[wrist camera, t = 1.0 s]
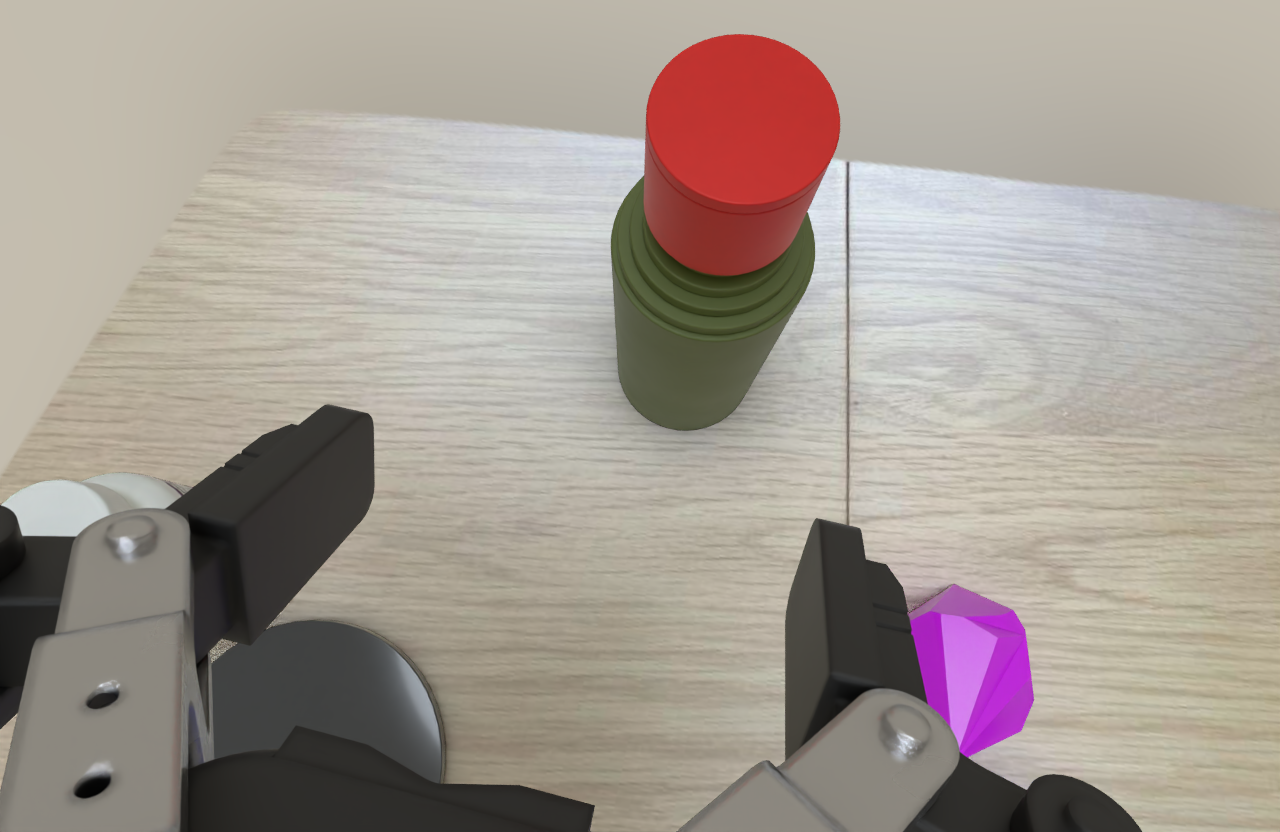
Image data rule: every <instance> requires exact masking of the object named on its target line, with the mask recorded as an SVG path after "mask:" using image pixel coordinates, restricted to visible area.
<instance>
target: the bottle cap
mask: <svg viewBox="0 0 1280 832" xmlns="http://www.w3.org/2000/svg"><path fill="white" fill-rule="evenodd" d="M646 113H647V114H646V139H645V171H644V212H645V216H646V220H647V223H648V225H649V228H650V230H651V232H652V234H653V236H654V238H655V239H656V240H657V242H658V243H659V244H660V246H661V247H662V248H663V249H664V250H665V251H666V252H667V253H668V254H669V255H670V256H672V257H673V258H674V259H675V260H677V261H678V262H680V263H682V264H683V265H685V266H687V267H689V268H692V269H694V270H697V271H700V272H703V273H707V274H713V275H724V276H728V275H739V274H744V273H749V272H752V271H755V270H758V269H760V268H762V267H764V266H766V265H768V264H770V263H771V262H773V261H774V260H776V259H777V258H778V257H779V256H780V255H781V254H783V253H784V252H785V250H786V249H787V248H788V247H789V246H790V244H791V243H792V241H793V240H794V238H795V237H796V234H797V232H798V230H799V228H800V226H801V224H802V222H803V219H804V217H805V215H806V213H807V211H808V209H809V206H810V204H811V202H812V200H813V198H814V196H815V193H816V191H817V189H818V187H819V185H820V183H821V181H822V178H823V176H824V174H825V172H826V170H827V168H828V165H829V163H830V161H831V159H832V157H833V155H834V152H835V150H836V147H837V143H838V140H839V133H840V114H839V108H838V104H837V101H836V97H835V94H834V92H833V90H832V88H831V86H830V84H829V82H828V81H827V80H826V78H825V76H824V75H823V73H822V72H821V71H820V70H819V69H818V68H817V66H816V65H814V64H813V63H812V62H811V61H810V60H809V59H808V58H807V57H805V56H804V55H803V54H801V53H800V52H798V51H797V50H795V49H793V48H791V47H790V46H788V45H786V44H783V43H781V42H779V41H776V40H773V39H769V38H766V37H761V36H755V35H744V34H735V35H724V36H718V37H714V38H710V39H707V40H704V41H702V42H699V43H697V44H695V45H692V46H691V47H689V48H687V49H685V50H684V51H682V52H681V53H680V54H678V55H677V56H676V57H675V58H673V59H672V60H671V61H670V62H669V63H668V64H667V65H666V66H665V68H664V69H663V70H662V72H661V73H660V74H659V76H658V78H657V79H656V81H655V83H654V85H653V87H652V90H651V92H650V95H649V99H648V104H647V112H646Z"/></svg>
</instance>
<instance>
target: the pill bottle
mask: <svg viewBox="0 0 1280 832" xmlns="http://www.w3.org/2000/svg"><path fill="white" fill-rule="evenodd" d="M192 488H193V487H189V486H185V485H181V484H177V483H173V482H169V481H166V480H162V479H158V478H155V477H151V476H148V475H142V474H135V473H109V474H103V475H98V476H94V477H91V478H88V479H86V480H83V481H81V482H78V481H71V480H49V481H43V482H39V483H35V484H33V485H30V486H28V487H25V488H23V489H21V490H19V491H18V492H16V493H15V494H13V495H12V496H11V497H9V498H8V499H7V500H6V501H5V502H4V503H3V504H1V506H5V507H7V508H9V509H10V510H12V511H13V512H14V513H15V515H16V516H17V520H18V523H19V526H20V530H21V533H22V536H77V535H78V534H79V533H80V532H81V531H82V530H83V529H85V528H86V527H87V526H89V525H90V524H92V523H94V522H95V521H97V520H99V519H101V518H104V517H106V516H109V515H111V514H114V513H118V512H122V511H126V510H131V509H139V508H160V509H165V508H167V507H168V506H169V505H171V504H172V503H173V502H175V501H176V500H177V499H179V498H180V497H181V496H183V495H184V494H185V493H187V492H188V491H189V490H190V489H192Z"/></svg>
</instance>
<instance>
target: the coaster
mask: <svg viewBox="0 0 1280 832" xmlns="http://www.w3.org/2000/svg"><path fill="white" fill-rule="evenodd" d="M212 699H213V739H214V759H218V758H221V757H225V756H228V755H232V754H237V753H243V752H248V751H255V750H266V749H279V748H280V747H281V746H282V744H283V743H284V741H285V740H286V739H287V737H288V736H289V734H290V733H291V732H292V730H293V729H294V727H295V726H296V725H297V726H301V727H304V728H308V729H312V730H316V731H319V732H323V733H327V734H331V735H334V736H338V737H342V738H345V739H349V740H353V741H357V742H360V743H364V744H368V745H369V746H371V747H373V748H374V749H376V750H378V751H380V752H381V753H383V754H385V755H386V756H388V757H390V758H391V759H393V760H395V761H397V762H398V763H400V764H402V765H403V766H405V767H407V768H408V769H410V770H412V771H413V772H415V773H417V774H419V775H420V776H422V777H424V778H425V779H427V780H429V781H431V782H435V783H441V784H443V781H444V772H445V762H446V756H445V737H444V729H443V723H442V719H441V716H440V712H439V708H438V705H437V702H436V700H435V698H434V695H433V693H432V691H431V688H430V687H429V685H428V683H427V681H426V680H425V678H424V676H423V675H422V673H421V672H420V671H419V669H418V668H417V667H416V665H415V664H414V663H413V662H412V660H411V659H410V658H409V657H408V656H407V655H406V654H405V653H403V652H402V651H401V650H400V649H399V648H398V647H397V646H395V645H394V644H393V643H391V642H390V641H388V640H387V639H386V638H384V637H382V636H380V635H378V634H377V633H375V632H373V631H371V630H369V629H366V628H363V627H360V626H357V625H354V624H350V623H345V622H340V621H333V620H308V621H296V622H291V623H286V624H282V625H277V626H274V627H272V628H269V629H266V630H264V631H263V633H262V634H261V635H260V636H259V637H258V638H257V639H256V641H255V642H254V643H253V644H252V645H251V646H249V645H245V644H241V643H238V644H236V645H235V646H233V647H232V648H230V649H229V650H227V651H226V652H225V653H224V654H222V655H221V656H220V657H219V658H218V659H216V660H215V661H214V662H213V663H212Z"/></svg>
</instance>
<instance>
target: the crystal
mask: <svg viewBox="0 0 1280 832" xmlns="http://www.w3.org/2000/svg"><path fill="white" fill-rule="evenodd" d="M908 615H909V618H910V623H911V628H912V632H911V635H913V637H914V642H915V646H916V651H917V656H918V660H919V665H920V669H921V674H922V679H923V683H924V688H925V693H926V697H927V702H928V705H929V706H931V707H932V708H933V709H934V710H935V711H937V712H938V713H939V714H940V715H941V716H942V717H943V718H944V719H945V721H946V722H947V723H948V725H949V726H950V727H951V729H952V731H953V733H954V734H955V737H956V739H957V742H958V745H959V750H960V752H961V753H962V754H963V755H965V756H966V757H969V756H971V755H973V754H975V753H977V752H979V751H981V750H983V749H985V748H987V747H989V746H991V745H993V744H995V743H997V742H1000V741H1002V740H1004V739H1006V738H1008V737H1010V736H1012V735H1014V734H1016V733H1018V732H1020V731H1021V730H1022V728H1023V725H1024V723H1025V721H1026V718H1027V716H1028V713H1029V711H1030V708H1031V706H1032V704H1033V701H1034V696H1033V688H1032V679H1031V671H1030V664H1029V656H1028V648H1027V641H1026V633H1025V629H1024V627H1023V626H1022V624H1021V622H1020V621H1019V619H1018V617H1017V616H1016V614H1015V612H1014V611H1013V610H1012V609H1009V608H1007V607H1005V606H1003V605H1000V604H998V603H996V602H994V601H991V600H989V599H987V598H985V597H982V596H980V595H978V594H976V593H973V592H971V591H969V590H967V589H964V588H962V587H960V586H958V585H956V584H953V585H952V586H950V587H949V588H947V589H946V590H944V591H943V592H941V593H940V594H938V595H937V596H935V597H933V598H932V599H930V600H929V601H927V602H926V603H924V604H923V605H921V606H920V607H918V608H917V609H915V610H914V611H912V612H911V613H909V614H908Z"/></svg>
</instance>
